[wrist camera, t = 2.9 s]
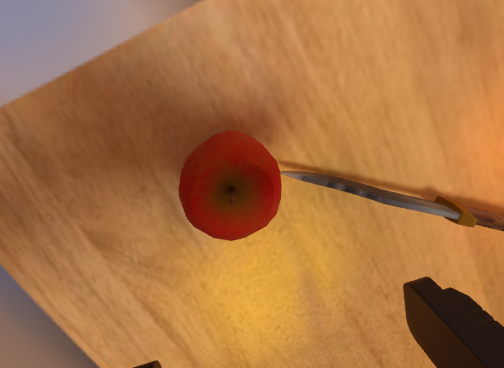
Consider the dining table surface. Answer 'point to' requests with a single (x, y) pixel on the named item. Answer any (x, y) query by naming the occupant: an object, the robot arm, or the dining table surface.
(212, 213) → the apple
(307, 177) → the knife
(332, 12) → the dining table surface
